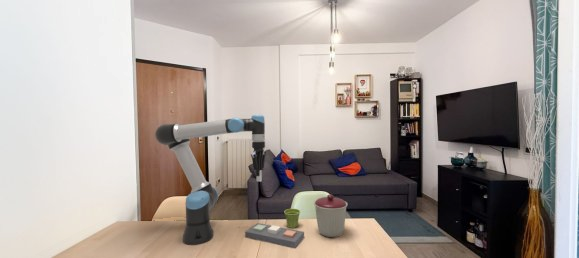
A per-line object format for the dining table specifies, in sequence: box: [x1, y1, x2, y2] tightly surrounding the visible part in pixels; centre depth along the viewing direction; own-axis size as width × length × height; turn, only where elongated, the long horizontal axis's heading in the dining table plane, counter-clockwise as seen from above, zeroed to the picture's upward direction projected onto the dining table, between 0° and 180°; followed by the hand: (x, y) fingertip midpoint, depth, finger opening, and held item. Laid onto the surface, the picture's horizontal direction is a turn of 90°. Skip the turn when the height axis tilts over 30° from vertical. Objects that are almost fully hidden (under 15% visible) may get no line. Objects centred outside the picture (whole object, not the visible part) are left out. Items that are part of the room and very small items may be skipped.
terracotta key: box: [283, 230, 296, 238], centre depth 121 cm, size 5×5×3 cm
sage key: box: [253, 224, 266, 232], centre depth 129 cm, size 5×5×3 cm
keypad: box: [244, 222, 305, 249], centre depth 125 cm, size 29×12×3 cm, turn 65°
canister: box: [313, 194, 348, 238], centre depth 129 cm, size 18×18×21 cm
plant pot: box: [283, 208, 301, 229], centre depth 139 cm, size 9×9×9 cm
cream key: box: [268, 225, 282, 235], centre depth 125 cm, size 5×5×3 cm
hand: (259, 181), depth 140 cm, fingers closed
